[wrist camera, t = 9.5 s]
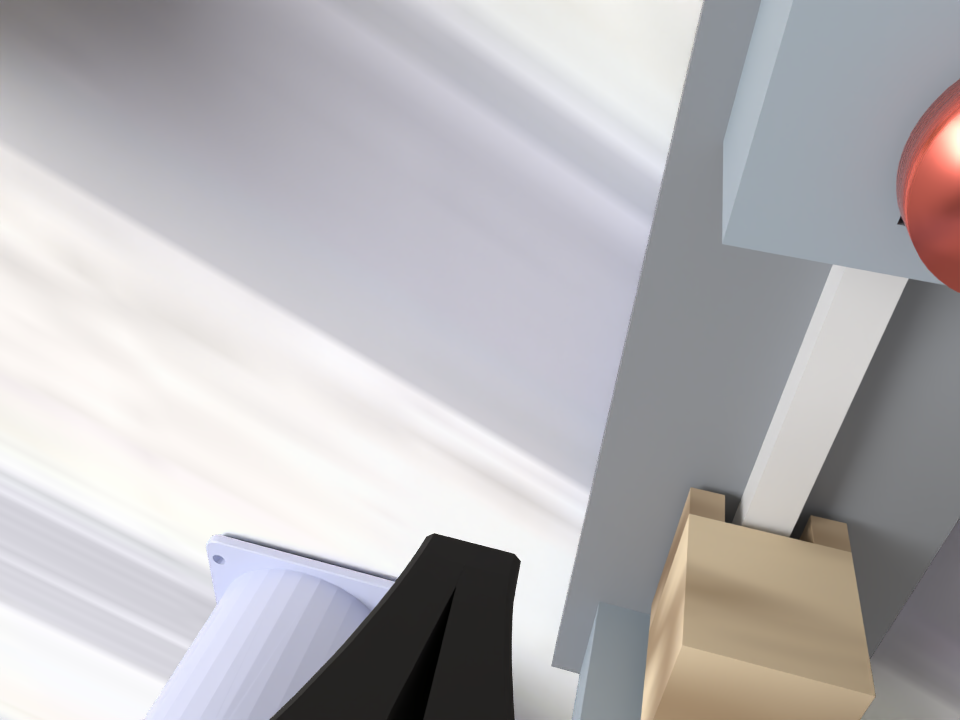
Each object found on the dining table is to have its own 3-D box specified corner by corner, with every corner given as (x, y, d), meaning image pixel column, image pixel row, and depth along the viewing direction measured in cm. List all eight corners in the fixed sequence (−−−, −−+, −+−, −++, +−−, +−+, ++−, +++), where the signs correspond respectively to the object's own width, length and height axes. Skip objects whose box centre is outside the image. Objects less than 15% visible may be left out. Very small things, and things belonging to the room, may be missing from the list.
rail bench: (815, 707, 27) (835, 915, 22) (557, 637, 28) (520, 818, 23) (1259, -32, 13) (1585, 63, 8) (725, -95, 15) (724, -46, 10)
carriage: (786, 639, 23) (799, 809, 19) (651, 604, 24) (636, 762, 20) (846, 523, 20) (875, 696, 16) (690, 486, 21) (681, 644, 17)
